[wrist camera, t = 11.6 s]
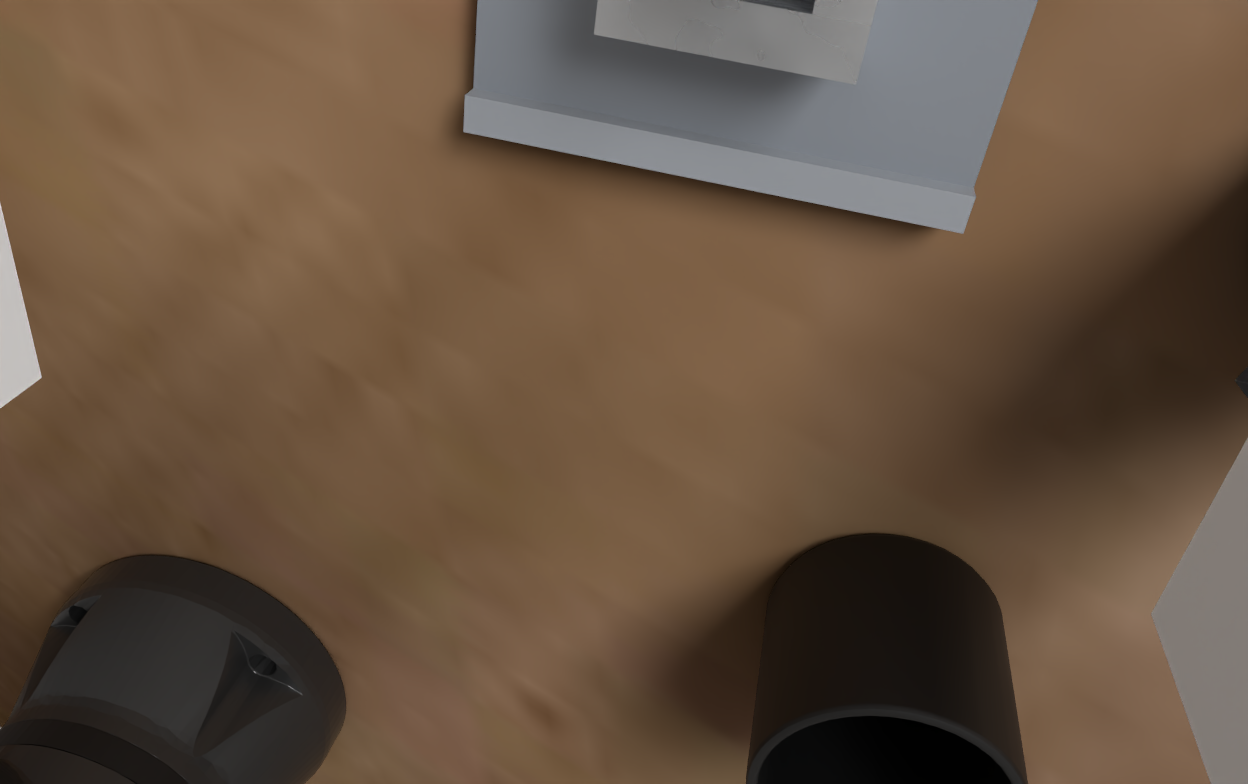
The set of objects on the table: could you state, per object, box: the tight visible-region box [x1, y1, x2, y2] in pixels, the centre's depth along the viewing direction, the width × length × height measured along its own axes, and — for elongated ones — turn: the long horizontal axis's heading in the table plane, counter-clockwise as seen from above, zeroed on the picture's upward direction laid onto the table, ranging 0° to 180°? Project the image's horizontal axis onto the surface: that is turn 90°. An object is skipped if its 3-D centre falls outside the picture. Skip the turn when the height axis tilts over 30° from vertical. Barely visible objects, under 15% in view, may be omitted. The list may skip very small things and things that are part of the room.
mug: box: [746, 534, 1028, 784], centre depth 39 cm, size 9×12×9 cm
